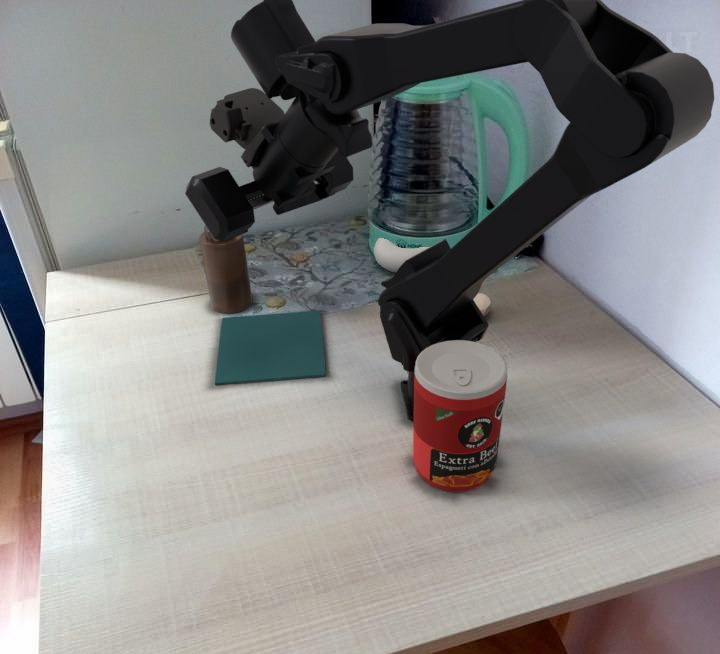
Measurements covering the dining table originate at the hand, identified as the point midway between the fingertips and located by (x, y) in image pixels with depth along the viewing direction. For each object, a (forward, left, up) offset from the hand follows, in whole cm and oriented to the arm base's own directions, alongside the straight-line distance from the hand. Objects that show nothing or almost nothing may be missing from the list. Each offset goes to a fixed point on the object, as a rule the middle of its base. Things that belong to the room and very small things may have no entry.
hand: (245, 223), depth 79 cm
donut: (+12, -21, -12) cm, 27 cm away
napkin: (-7, -2, -12) cm, 14 cm away
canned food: (-30, -19, -12) cm, 37 cm away
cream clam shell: (-3, -26, -12) cm, 28 cm away
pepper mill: (+4, +3, -12) cm, 13 cm away
